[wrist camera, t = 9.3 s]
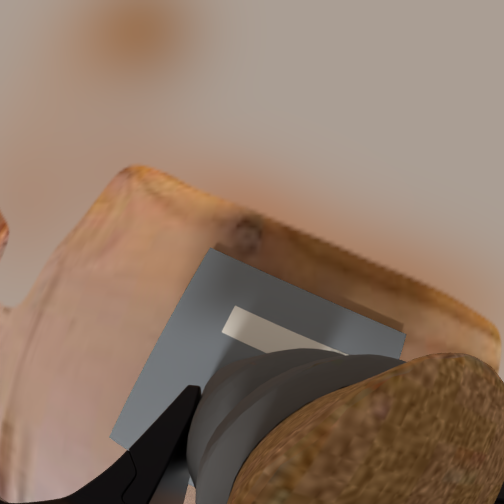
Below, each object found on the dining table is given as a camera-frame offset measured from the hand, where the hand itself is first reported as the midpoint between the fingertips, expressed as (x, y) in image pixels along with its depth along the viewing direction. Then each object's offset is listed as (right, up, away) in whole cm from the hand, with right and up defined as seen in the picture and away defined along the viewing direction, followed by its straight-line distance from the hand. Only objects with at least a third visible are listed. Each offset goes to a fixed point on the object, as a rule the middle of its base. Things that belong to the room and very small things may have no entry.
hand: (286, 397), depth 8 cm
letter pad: (0, -5, +8) cm, 9 cm away
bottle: (-1, -4, +7) cm, 8 cm away
